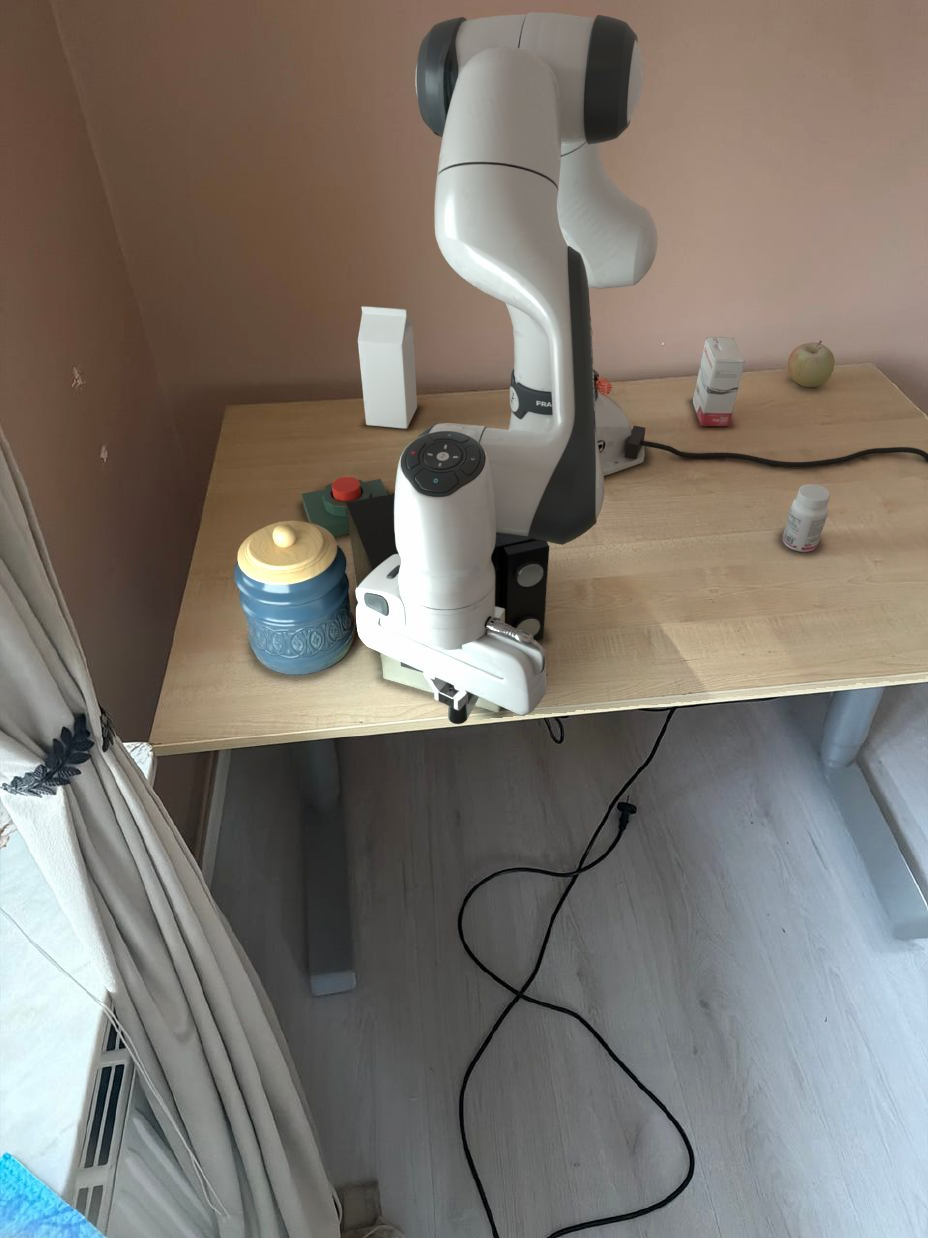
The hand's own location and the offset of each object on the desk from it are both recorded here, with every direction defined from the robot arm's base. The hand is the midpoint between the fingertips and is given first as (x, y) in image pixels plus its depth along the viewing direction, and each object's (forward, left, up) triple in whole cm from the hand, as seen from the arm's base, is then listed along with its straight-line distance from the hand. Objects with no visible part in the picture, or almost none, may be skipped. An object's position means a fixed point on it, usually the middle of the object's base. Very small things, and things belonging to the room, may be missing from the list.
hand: (451, 701), depth 93 cm
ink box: (-63, -55, -8) cm, 84 cm away
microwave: (-6, -21, -8) cm, 23 cm away
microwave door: (0, -7, -8) cm, 11 cm away
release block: (+1, -47, -8) cm, 48 cm away
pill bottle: (-57, -20, -8) cm, 61 cm away
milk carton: (-12, -72, -8) cm, 73 cm away
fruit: (-84, -59, -8) cm, 103 cm away
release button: (+1, -47, -5) cm, 47 cm away
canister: (+12, -23, -8) cm, 27 cm away
